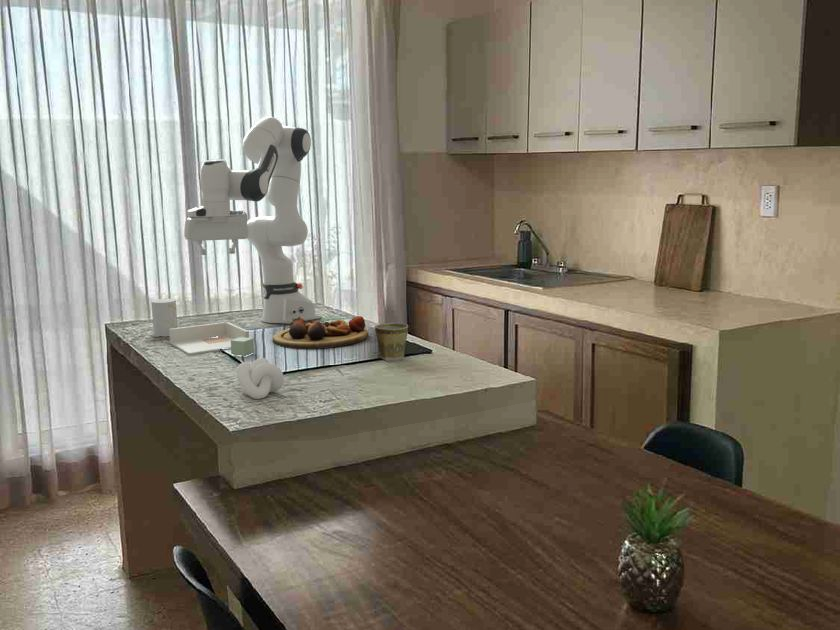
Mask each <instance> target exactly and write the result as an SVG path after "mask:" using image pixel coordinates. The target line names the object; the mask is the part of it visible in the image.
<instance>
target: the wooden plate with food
mask: <svg viewBox="0 0 840 630" xmlns="http://www.w3.org/2000/svg"><path fill="white" fill-rule="evenodd" d="M300 317H301V316H300ZM300 317H298V318H294V320H293V319H292V320H293V322H291V323H290V324H289V325H290V326H289V328H287V329H283V330H280V331H278V332H277V333H275V334H274V335H273V337H272V342H273V343H274V345H277V346H279V345H280V346H279V347H283V346H284V347H283V348H288V347H291V348H290V349H300V348H301V349H305V350H306V349H310V350H311V349H313V350H314V349H327V348H337V347H338V348H339V347H342V346H348V345H353V344H357V343H359V342H363V341H365V340H366V339H367V338H368V337H369V331H368V330H367V328H366V322H365V319H364V317H363V316H361V315H357V316H353V317H352V318H351V319H350V320H349V321H348V322H347V321H346V320H344V319H338V318H337V319H336V320H331V321H330V322H328V321H325V322H320V321H319V320H315V319H313V320H309V322H307V323H306V321H304V319H303V318H300Z"/></svg>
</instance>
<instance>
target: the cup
mask: <svg viewBox="0 0 840 630" xmlns="http://www.w3.org/2000/svg"><path fill="white" fill-rule="evenodd" d="M150 303H151V313H152V328H153V336H154V337H156V336H169V337H170V329H172V328H179V327H178V325H179V324H178V314H177V299H175V298H159V299H154V300H151V302H150Z"/></svg>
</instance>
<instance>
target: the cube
mask: <svg viewBox="0 0 840 630" xmlns="http://www.w3.org/2000/svg"><path fill="white" fill-rule="evenodd" d="M254 340H255V339H254V337H249V338H244V337H239V338H236V339H234V340H231V349H230V350H231V355H232V354H235V355H244V356H246V355H249V354H251V353H255V341H254Z"/></svg>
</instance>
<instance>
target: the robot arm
mask: <svg viewBox="0 0 840 630" xmlns="http://www.w3.org/2000/svg"><path fill="white" fill-rule="evenodd" d="M311 145H312V138H311V135H310V133H309V131H308V130H307V129H306V128H303V127H300V126H296V127H294V126H287V125H282V122H281V121H280V120H279V119H278V118H276V117H273V116H265V117H262V118H261V119H260V120H258V121H256V123H255V124H254V125H253V126H252V127H251V128H250V129H249V130H248V131H247V133H246V135H245V136H244V138H243V140H242V151H243V152H244V153H243V154H244V155H245V156H246V158H247V159H248V160H249V161H251V162H252V163H254V164H256V165H257V166H256V168H254V169H246V170H233V169H232V168H230V167H228V164H227V163H228V162H227V161H226V160H225V159H221V158H220V159H219V158H216V159H207V160H205V161H204V162H202V165H201V167H200V168H201V169H200V188H201V192H202V196H201V205H199V206H196V207H193V208H191V209H188V210H186V216H187V218H186V219H185V222H184V230H183V232H184V235H183V236H184V239H185V240H186V241H187V242H195V243H196V246H197V248H198V249H199V254H200V256H206V255H207V249H205V248H203V246H202V245H203V241H225V240H226V241H227V240H231V243H232V245H231V247H228V254H229V255H235V254H236V248H237V246H238V244H239V240H247V241H249V242H250V243H251V244H252V245H253V246H254V248H255V250H256V251H257V254H258V255H259V258H260V261H261V266H262V274H263V275H262V276H263V283H262V297H263V309H262V316H261V320H260V321H262V322H263V323H268V324H287V325H291V324H290V323H291V322H293V320H294V318H298V317H300V316H301V317H300V318H303V319H304V322H308V321H311V320H317V319H322V314H321V313H319V312H316V309H315V304H314V303H313V301H312V300H311V299H310V298H309V297H307V296H306V295H304V294H303V293H301V292H300V291H299V290H302V289H303V284H302V283H301V282H298V283H296V282H295V281H294V265H293V264H294V263H293V262H292V260H291V258H290V257H288V256H287V255H286V254H285V253H284V252H283V249H282V247H296V246H299V245H303V244H304V243H305V241H306V240H307V238H308V235H309V233H308V232H309V229H308V226H307V223H306V222H305V221H304V220H303V218H302V217H301V215H300V213H299V208H298V197H299V189H300V184H301V176H302V175H301V174H302V161H303V159H304V158H305V157H306V156H308V154H309V152H310V150H311ZM265 197H267V200H268V203H270V204H271V205H272V206H273V207H274V209H275V211H274V212H275V213H274V215H273V216H272V215H271V216H270V215H262V216H256V217H252V218H250V219H249V218H248V217H249V216H248V213H246V212H245V211H243V210H231V201H249V202H261V201H262V200H263V199H264V198H265ZM248 219H249V220H248ZM292 319H293V320H292Z"/></svg>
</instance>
